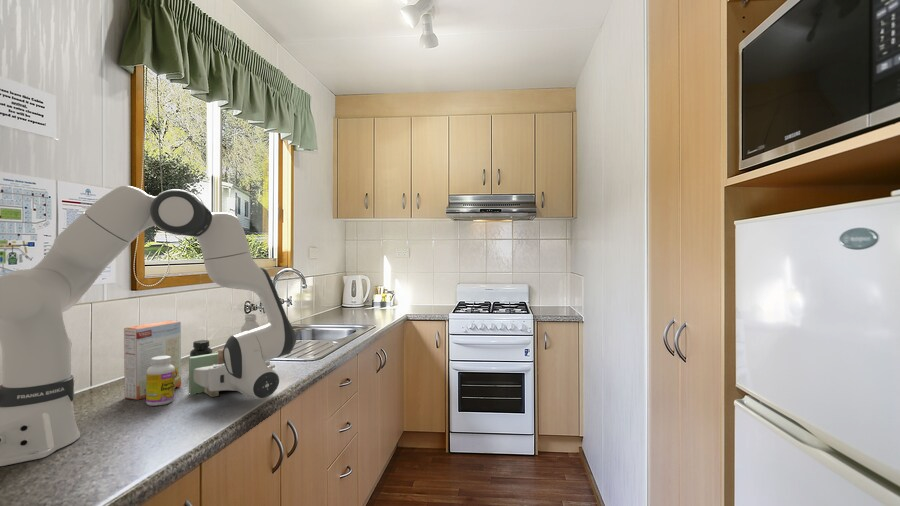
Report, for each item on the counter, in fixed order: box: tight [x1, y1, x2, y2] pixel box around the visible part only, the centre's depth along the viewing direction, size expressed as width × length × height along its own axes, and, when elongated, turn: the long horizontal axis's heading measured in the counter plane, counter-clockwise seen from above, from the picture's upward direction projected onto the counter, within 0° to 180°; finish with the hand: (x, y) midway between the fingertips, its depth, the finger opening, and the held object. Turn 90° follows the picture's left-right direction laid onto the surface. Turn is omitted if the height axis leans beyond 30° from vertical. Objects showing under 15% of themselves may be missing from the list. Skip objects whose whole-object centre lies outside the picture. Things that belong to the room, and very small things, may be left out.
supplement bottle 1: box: [145, 356, 175, 407], centre depth 122 cm, size 7×7×13 cm
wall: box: [188, 352, 218, 395], centre depth 135 cm, size 16×2×11 cm, turn 137°
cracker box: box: [123, 320, 182, 401], centre depth 131 cm, size 14×6×21 cm, turn 161°
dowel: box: [217, 348, 228, 392], centre depth 131 cm, size 4×4×12 cm
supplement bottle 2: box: [189, 339, 213, 357], centre depth 149 cm, size 7×7×12 cm
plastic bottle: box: [240, 313, 261, 333], centre depth 157 cm, size 6×7×20 cm
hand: (224, 365), depth 132 cm, fingers closed on dowel, 4 cm apart
